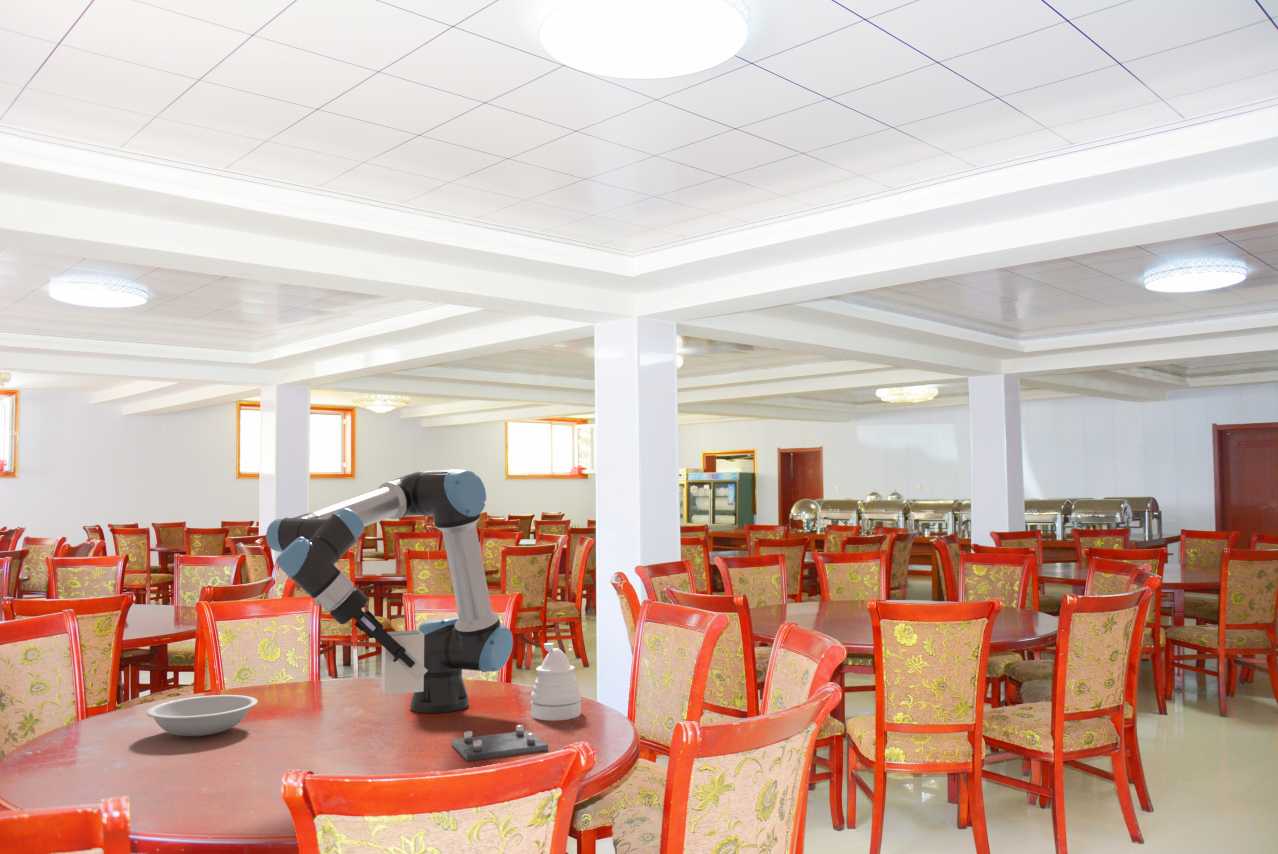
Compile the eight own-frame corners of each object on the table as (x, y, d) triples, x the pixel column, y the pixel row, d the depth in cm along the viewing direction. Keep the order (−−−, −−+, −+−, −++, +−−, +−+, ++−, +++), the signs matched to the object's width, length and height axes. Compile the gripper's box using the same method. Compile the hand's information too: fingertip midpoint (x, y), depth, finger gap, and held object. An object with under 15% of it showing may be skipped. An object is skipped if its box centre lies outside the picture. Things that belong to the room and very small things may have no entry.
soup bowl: (278, 726, 218) (279, 699, 219) (193, 752, 196) (194, 721, 197) (210, 717, 228) (211, 691, 229) (121, 740, 207) (122, 711, 207)
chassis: (451, 745, 200) (451, 730, 200) (528, 735, 207) (528, 721, 208) (467, 761, 187) (467, 745, 187) (548, 750, 195) (548, 735, 195)
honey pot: (541, 722, 220) (541, 648, 221) (523, 712, 231) (523, 641, 232) (589, 716, 226) (588, 644, 227) (569, 706, 237) (569, 638, 238)
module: (381, 690, 189) (382, 632, 190) (419, 687, 193) (419, 629, 194) (384, 695, 185) (385, 635, 186) (423, 691, 188) (424, 632, 189)
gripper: (324, 608, 192) (400, 678, 197) (332, 618, 176) (415, 694, 181) (350, 582, 195) (425, 652, 200) (360, 589, 178) (441, 666, 184)
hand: (420, 672), depth 190 cm, fingers closed on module, 5 cm apart
